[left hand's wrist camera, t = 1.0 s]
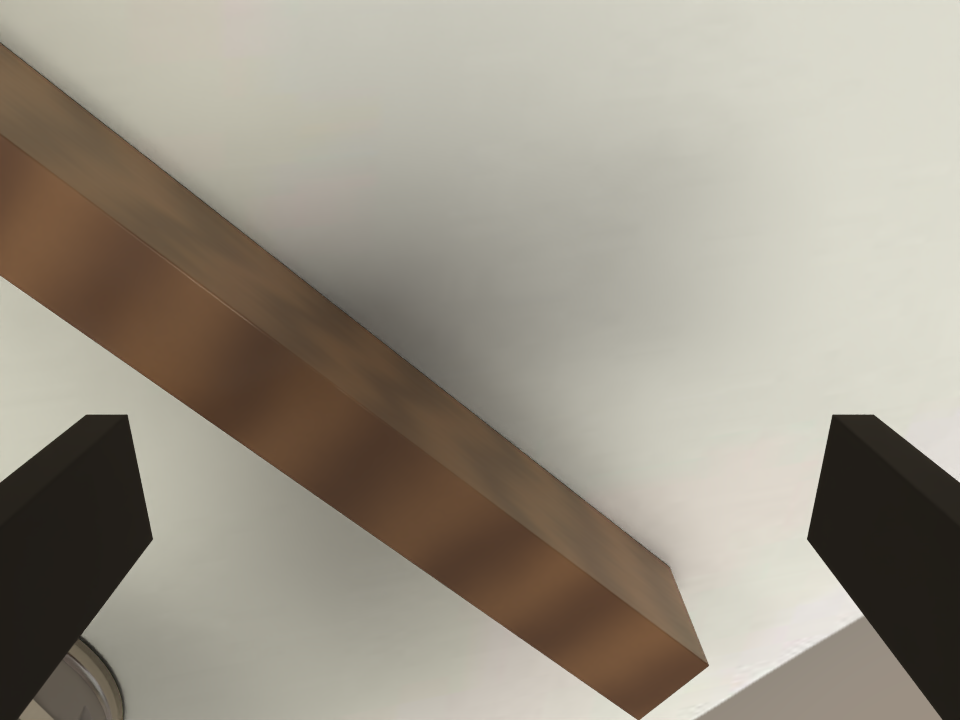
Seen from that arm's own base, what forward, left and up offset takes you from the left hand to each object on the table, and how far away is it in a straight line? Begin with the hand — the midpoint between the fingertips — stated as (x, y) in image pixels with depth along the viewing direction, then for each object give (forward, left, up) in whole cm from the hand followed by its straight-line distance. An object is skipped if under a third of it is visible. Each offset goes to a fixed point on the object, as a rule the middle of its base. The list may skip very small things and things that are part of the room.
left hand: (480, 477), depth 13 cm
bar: (-11, +10, -22) cm, 27 cm away
